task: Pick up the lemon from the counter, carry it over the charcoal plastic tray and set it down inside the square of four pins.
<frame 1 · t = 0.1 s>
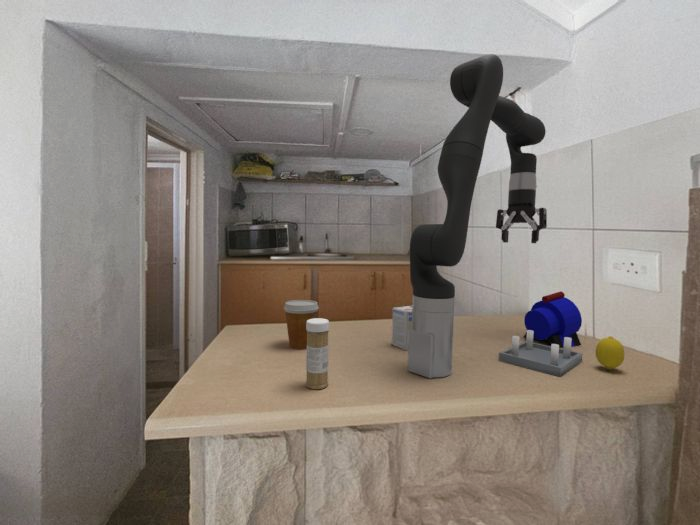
hand: (519, 242, 112), 29 cm above the worktop, tool pointing down, fingers open, 8 cm apart
lemon: (608, 370, 86), on the worktop
alarm clock: (549, 342, 109), on the worktop
sprinkles bottle: (316, 386, 74), on the worktop
tray: (540, 360, 91), on the worktop
disposable coffee cup: (301, 346, 100), on the worktop
light bulb box: (412, 345, 103), on the worktop
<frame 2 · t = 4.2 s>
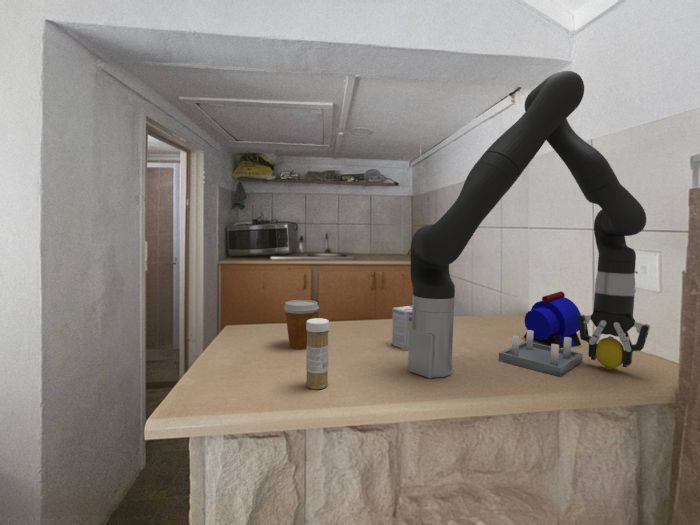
hand: (609, 362, 86), 2 cm above the worktop, tool pointing down, fingers closed on lemon, 5 cm apart
lemon: (608, 370, 86), on the worktop, touching gripper
everything else where it was.
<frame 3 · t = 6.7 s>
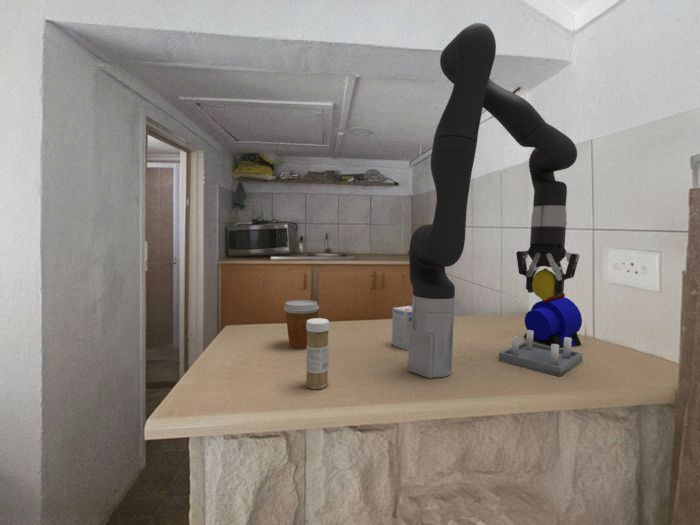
hand: (544, 293, 90), 17 cm above the worktop, tool pointing down, fingers closed on lemon, 5 cm apart
lemon: (543, 301, 90), point 15 cm above the worktop, touching gripper
everything else where it was.
when the fingers open (5 cm above the worktop, at t = 9.3 s): lemon drops 2 cm, resting on tray.
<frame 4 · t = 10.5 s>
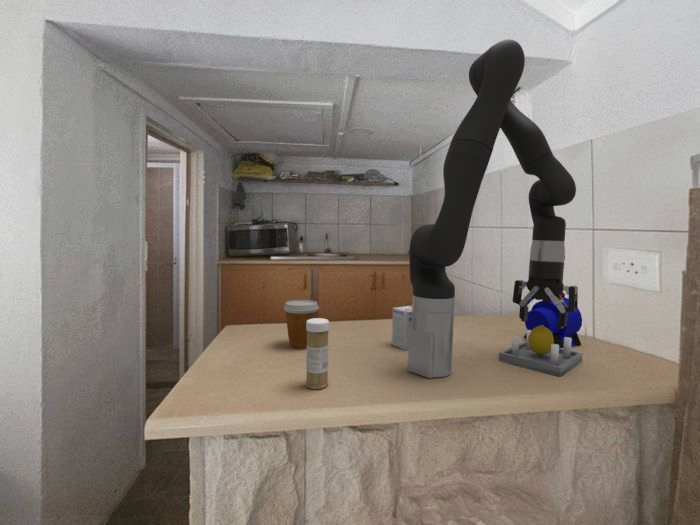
hand: (541, 324, 91), 9 cm above the worktop, tool pointing down, fingers open, 8 cm apart
lemon: (539, 357, 92), point 1 cm above the worktop, touching tray
everything else where it was.
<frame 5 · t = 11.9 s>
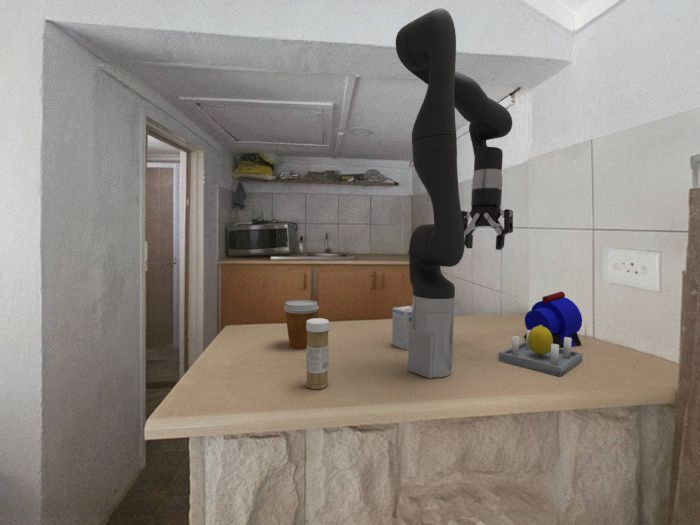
hand: (483, 249, 98), 27 cm above the worktop, tool pointing down, fingers open, 8 cm apart
nothing on the worktop moved.
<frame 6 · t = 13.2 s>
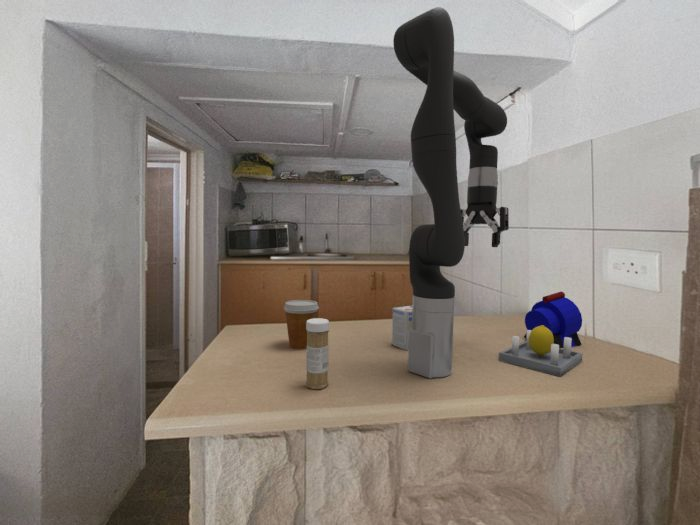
hand: (479, 246, 99), 28 cm above the worktop, tool pointing down, fingers open, 8 cm apart
nothing on the worktop moved.
at the end: lemon inside the target area on the tray (0.2 cm from its centre), point 0.8 cm above the tray's base; the gripper is holding nothing; lemon touching tray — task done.
